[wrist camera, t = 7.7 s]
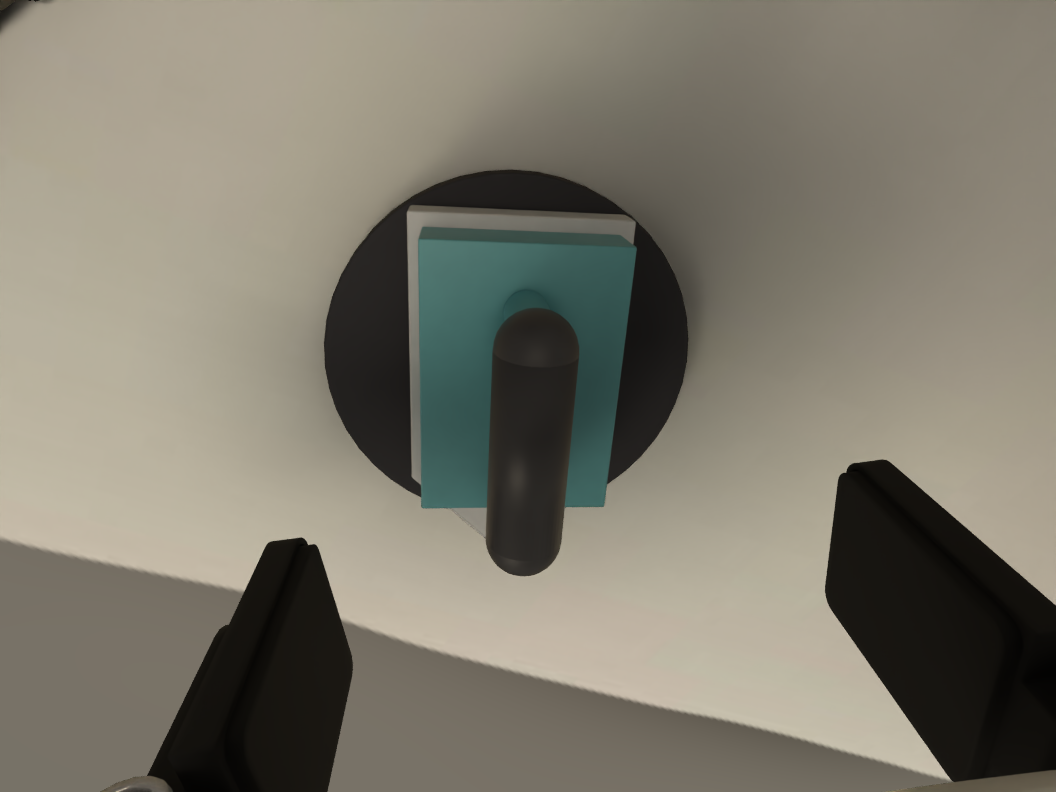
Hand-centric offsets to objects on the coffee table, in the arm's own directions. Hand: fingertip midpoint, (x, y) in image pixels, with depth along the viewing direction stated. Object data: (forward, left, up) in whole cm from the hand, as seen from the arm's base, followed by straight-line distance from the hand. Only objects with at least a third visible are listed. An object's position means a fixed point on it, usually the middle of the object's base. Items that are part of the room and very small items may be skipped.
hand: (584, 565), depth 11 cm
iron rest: (+1, 0, -12) cm, 12 cm away
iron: (+1, +1, -10) cm, 10 cm away
